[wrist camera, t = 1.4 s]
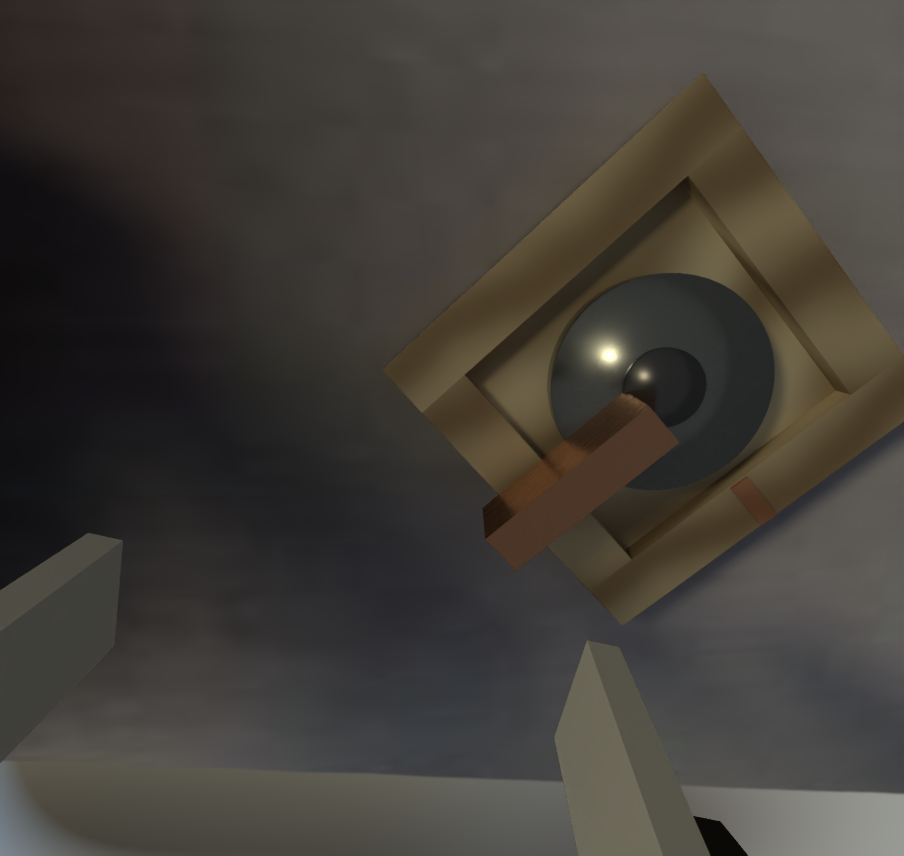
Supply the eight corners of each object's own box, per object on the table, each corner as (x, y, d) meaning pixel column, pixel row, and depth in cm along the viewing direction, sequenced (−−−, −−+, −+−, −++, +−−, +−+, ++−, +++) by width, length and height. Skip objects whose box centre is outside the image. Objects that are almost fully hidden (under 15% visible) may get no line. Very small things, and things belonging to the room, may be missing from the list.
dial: (674, 225, 27) (724, 210, 21) (799, 389, 28) (872, 411, 23) (428, 440, 30) (421, 472, 24) (556, 576, 31) (574, 631, 26)
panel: (389, 363, 30) (381, 371, 28) (678, 94, 27) (705, 70, 24) (609, 599, 34) (623, 628, 31) (892, 389, 30) (937, 400, 27)
